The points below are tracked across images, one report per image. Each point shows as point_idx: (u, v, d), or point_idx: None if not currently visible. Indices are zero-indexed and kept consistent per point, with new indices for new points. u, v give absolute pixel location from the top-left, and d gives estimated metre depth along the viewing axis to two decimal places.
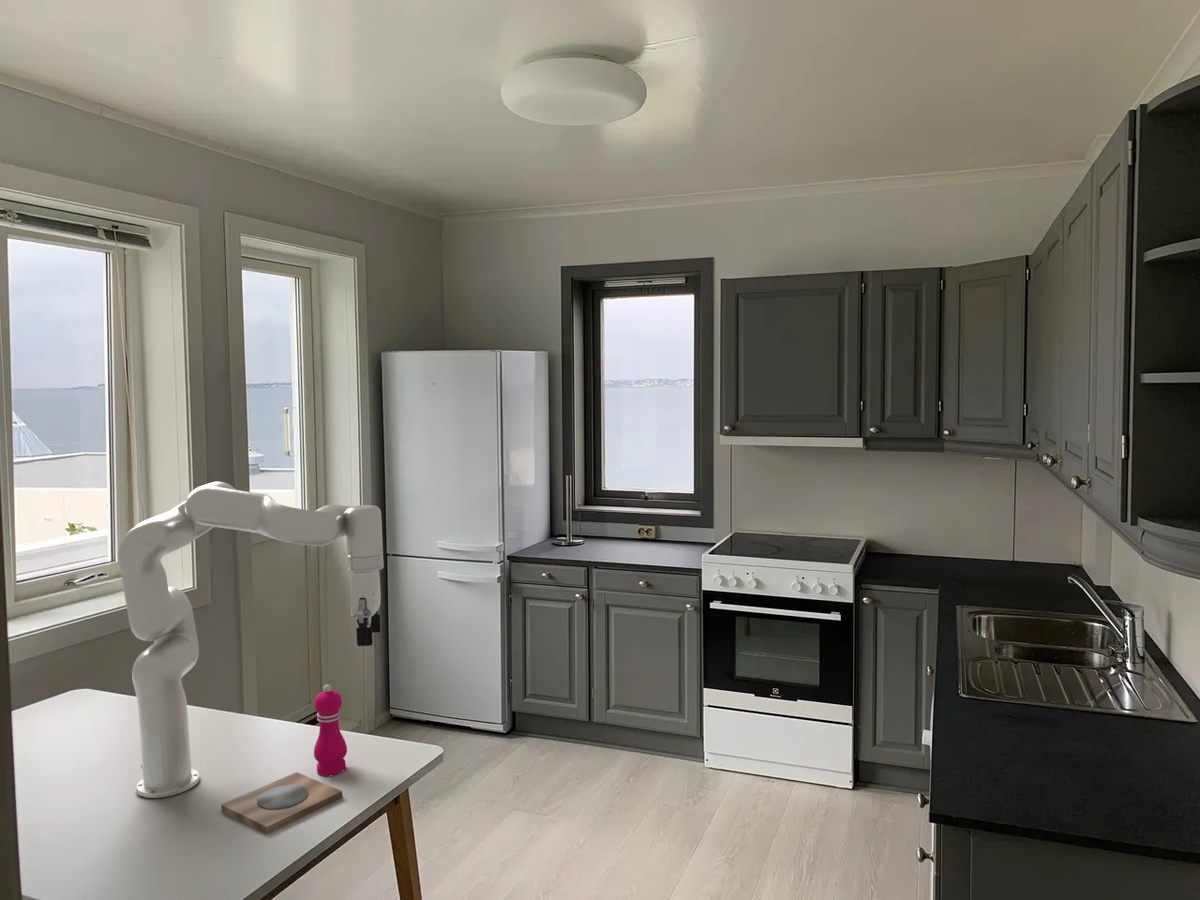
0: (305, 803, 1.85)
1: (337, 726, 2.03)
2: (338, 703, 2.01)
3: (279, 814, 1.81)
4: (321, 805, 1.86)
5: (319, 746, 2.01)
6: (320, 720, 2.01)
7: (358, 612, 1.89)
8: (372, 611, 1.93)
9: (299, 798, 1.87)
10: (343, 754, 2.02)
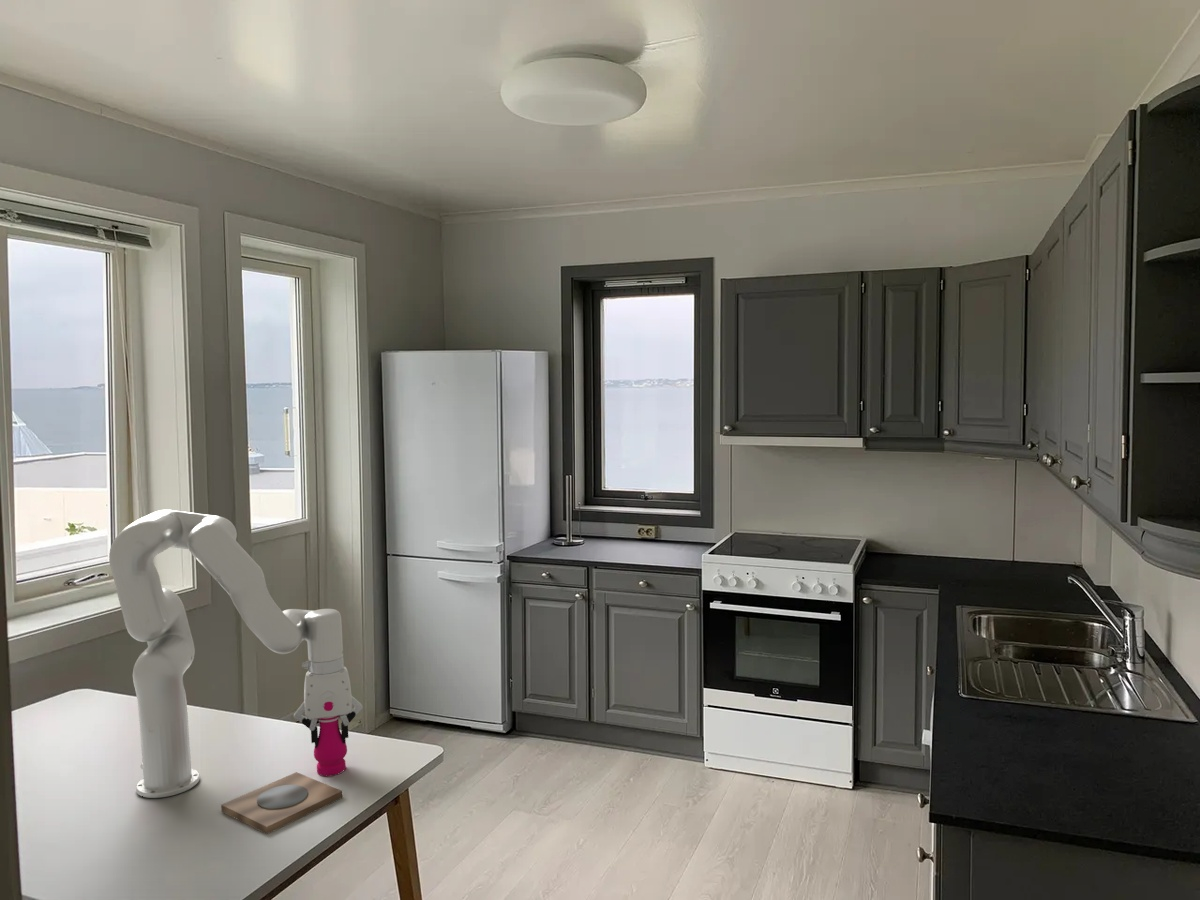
0: (305, 803, 1.85)
1: (337, 726, 2.03)
2: None
3: (279, 814, 1.81)
4: (321, 805, 1.86)
5: (319, 746, 2.01)
6: (320, 720, 2.01)
7: (362, 706, 2.05)
8: None
9: (299, 798, 1.87)
10: (343, 754, 2.02)
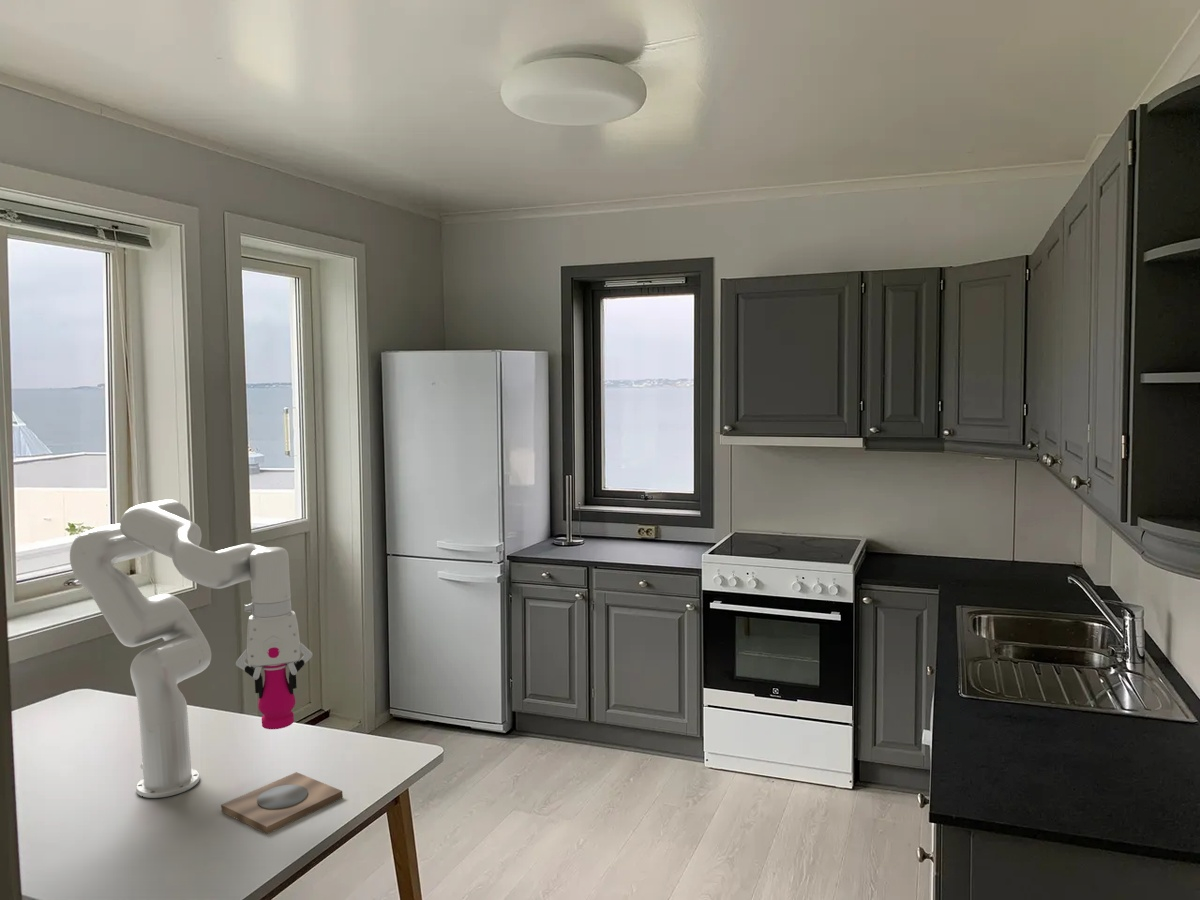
0: (305, 803, 1.85)
1: (284, 675, 1.85)
2: None
3: (279, 814, 1.81)
4: (321, 805, 1.86)
5: (263, 696, 1.83)
6: (265, 668, 1.83)
7: None
8: None
9: (299, 798, 1.87)
10: (290, 706, 1.85)
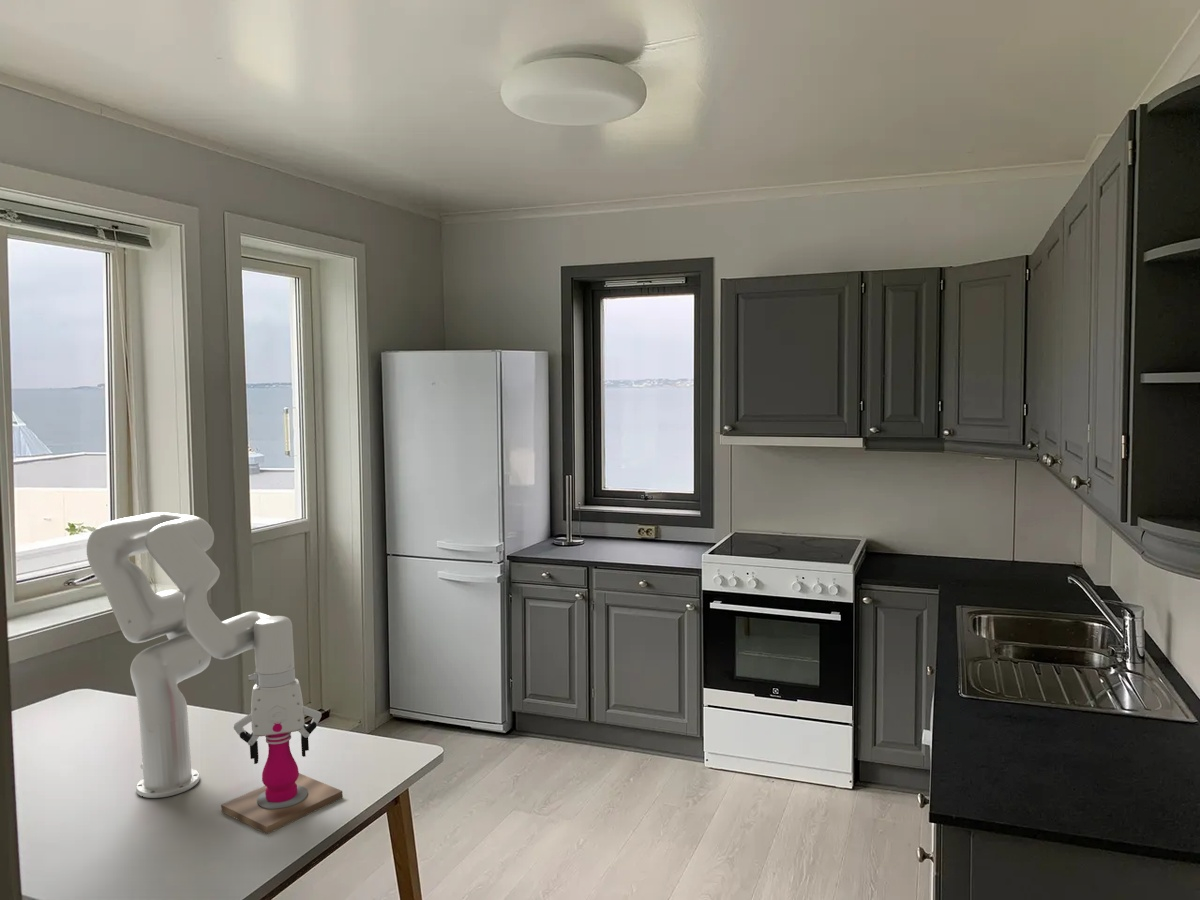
0: (305, 803, 1.85)
1: (287, 748, 1.87)
2: None
3: (279, 814, 1.81)
4: (321, 805, 1.86)
5: (267, 770, 1.85)
6: (268, 742, 1.85)
7: None
8: None
9: (299, 798, 1.87)
10: (294, 778, 1.86)
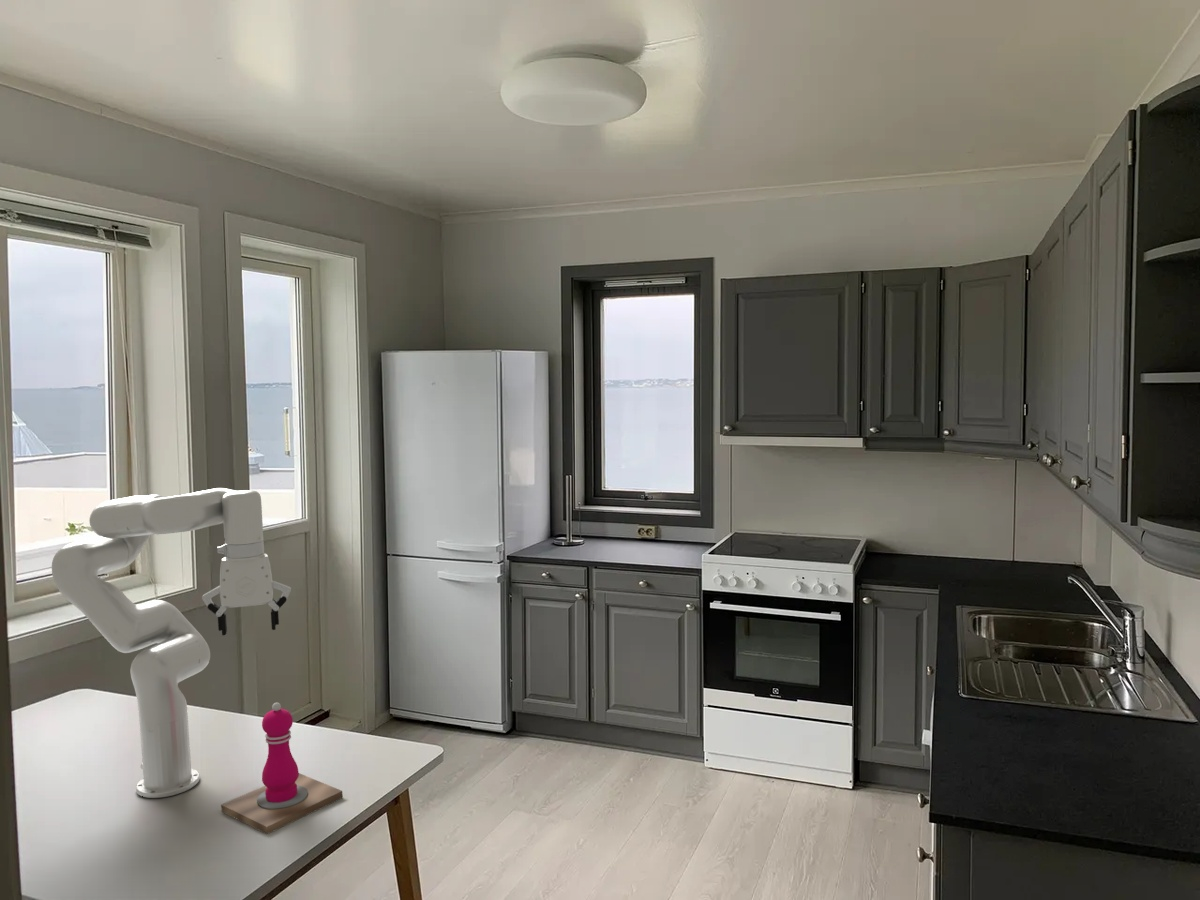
0: (305, 803, 1.85)
1: (287, 748, 1.87)
2: (288, 723, 1.85)
3: (279, 814, 1.81)
4: (321, 805, 1.86)
5: (267, 770, 1.85)
6: (268, 742, 1.85)
7: (290, 588, 1.90)
8: None
9: (299, 798, 1.87)
10: (294, 778, 1.86)
